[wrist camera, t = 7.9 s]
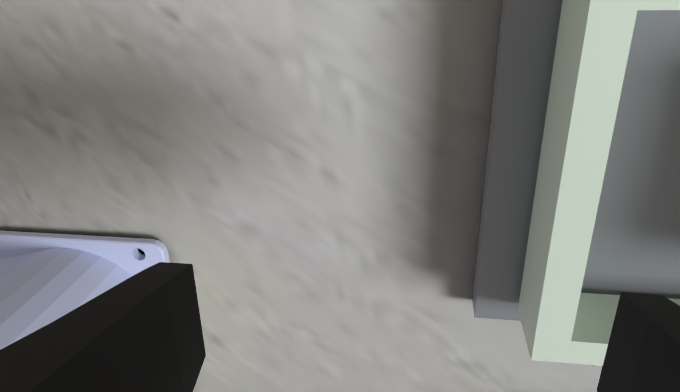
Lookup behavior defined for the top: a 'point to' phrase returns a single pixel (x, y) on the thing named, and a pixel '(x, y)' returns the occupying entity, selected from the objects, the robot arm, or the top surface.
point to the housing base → (621, 170)
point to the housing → (576, 181)
